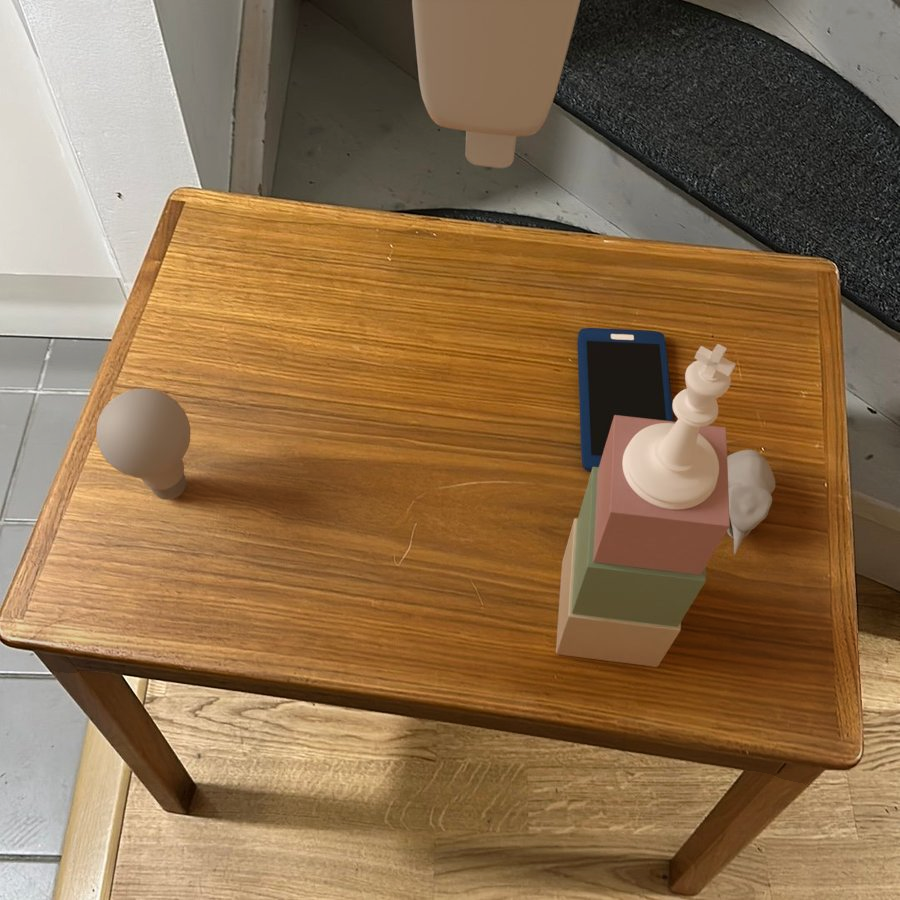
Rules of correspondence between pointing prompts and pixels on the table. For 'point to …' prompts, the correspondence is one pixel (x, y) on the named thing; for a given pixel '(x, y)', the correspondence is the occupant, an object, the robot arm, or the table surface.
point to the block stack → (635, 559)
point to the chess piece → (681, 440)
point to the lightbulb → (146, 439)
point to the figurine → (748, 492)
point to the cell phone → (619, 383)
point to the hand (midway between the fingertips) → (503, 76)
